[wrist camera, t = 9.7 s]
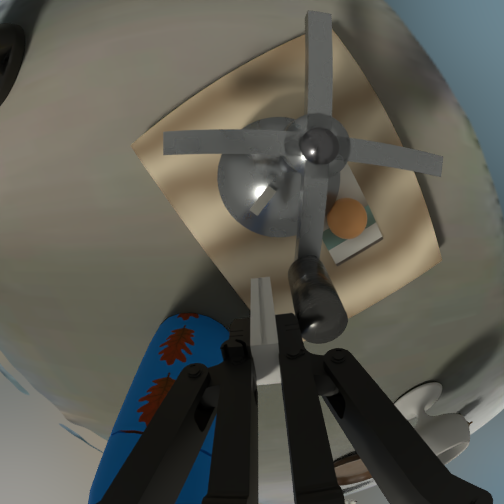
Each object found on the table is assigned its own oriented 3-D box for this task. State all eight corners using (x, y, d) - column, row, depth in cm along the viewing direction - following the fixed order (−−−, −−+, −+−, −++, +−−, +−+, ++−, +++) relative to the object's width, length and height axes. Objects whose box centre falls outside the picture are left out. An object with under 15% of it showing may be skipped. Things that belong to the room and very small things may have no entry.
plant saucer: (301, 475, 53) (302, 485, 50) (358, 442, 46) (360, 454, 43) (354, 477, 57) (356, 486, 54) (407, 446, 50) (411, 455, 47)
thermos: (231, 310, 32) (202, 536, 9) (240, 372, 36) (228, 547, 13) (146, 311, 32) (59, 492, 9) (167, 370, 37) (120, 526, 14)
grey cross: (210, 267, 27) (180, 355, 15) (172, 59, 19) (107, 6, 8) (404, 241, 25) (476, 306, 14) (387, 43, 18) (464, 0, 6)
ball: (316, 206, 24) (324, 217, 21) (349, 186, 24) (362, 194, 20) (333, 238, 26) (343, 252, 22) (365, 219, 25) (379, 231, 22)
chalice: (457, 377, 38) (487, 431, 25) (417, 420, 44) (437, 472, 30) (411, 376, 37) (443, 445, 23) (369, 423, 42) (387, 485, 29)
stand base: (138, 144, 25) (129, 145, 23) (324, 31, 20) (329, 23, 18) (282, 340, 34) (283, 352, 32) (433, 253, 29) (443, 261, 27)
